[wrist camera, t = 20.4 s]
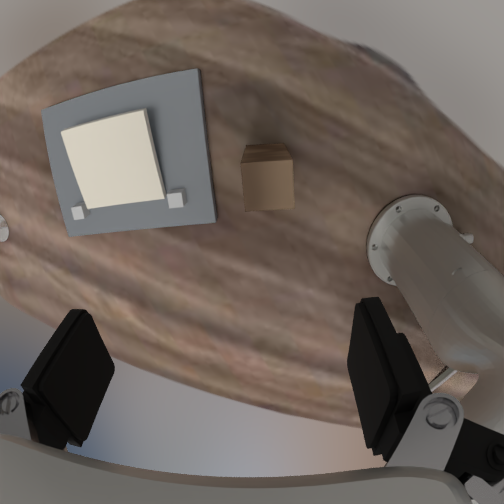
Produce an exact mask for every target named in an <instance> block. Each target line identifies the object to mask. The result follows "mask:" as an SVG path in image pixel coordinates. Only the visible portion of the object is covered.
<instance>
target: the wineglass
mask: <svg viewBox="0 0 504 504" xmlns="http://www.w3.org/2000/svg"><path fill="white" fill-rule="evenodd" d="M8 234H9V231H8V226H7V223H6V221H5V219H4V218H3V217H2V216H1V215H0V241H2V242H3V241H6V240H7V238H8Z"/></svg>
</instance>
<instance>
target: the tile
mask: <svg viewBox="0 0 504 504" xmlns="http://www.w3.org/2000/svg"><path fill="white" fill-rule="evenodd" d="M61 135H62V138H63V141H64V145H65V148H66V151H67V154H68V157H69V160H70V163H71V166H72V169H73V172H74V174H75V177H76V180H77V183H78V185H79V188H80V191H81V194H82V196H83V199H84V201H85V204H86V206H87V209H91V208H98V207H105V206H112V205H119V204H127V203H135V202H143V201H151V200H159V199H165V197H166V191H165V187H164V183H163V179H162V175H161V171H160V167H159V163H158V159H157V155H156V150H155V146H154V142H153V137H152V133H151V128H150V124H149V119H148V115H147V110H146V108H144V109H139V110H134V111H130V112H125V113H121V114H117V115H113V116H109V117H105V118H101V119H97V120H93V121H90V122H86V123H83V124H79V125H76V126H72V127H69V128H66V129H64V130H62V131H61Z"/></svg>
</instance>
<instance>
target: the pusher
mask: <svg viewBox="0 0 504 504" xmlns="http://www.w3.org/2000/svg"><path fill="white" fill-rule="evenodd" d="M241 173H242V184H243V195H244V206H245V212H249V211H265V210H282V209H295V202H294V175H293V159H292V158H291V156H290V154H289V152H288V150H287V148H286V147H285V145H284V143H277V144H260V145H246V148H245V151H244V154H243V157H242V160H241Z"/></svg>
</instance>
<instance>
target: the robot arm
mask: <svg viewBox="0 0 504 504" xmlns="http://www.w3.org/2000/svg"><path fill="white" fill-rule="evenodd" d="M397 206H398V207H397ZM396 207H397V208H396ZM473 239H474V238H473V235H472V233H463V234H461V233H460V232H458V231H457V230H456V229H455V228H454V227H453V223H452V220H451V217H450V215H449V213H448V212H447V210H446V209H445V208H444V206H443V205H442V204H440V203H439V202H438V201H436V200H435V199H433V198H431V197H429V196H425V195H409V196H404V197H402V198H399V199H397V200H395V201H394V202H392V203H391V204H389V205H388V206H387V207H386V208H385V209H384V210H383V211H381V212H380V214H379V215H378V217H377V218H376V219H375V221H374V223H373V225H372V227H371V228H370V231H369V235H368V238H367V246H366V248H367V257H368V261H369V264H370V266H371V267H372V269H373V271H374V272H375V274H376V275H377V276H378V277H379V278H380V279H381V280H382V281H384V282H386V283H387V284H390V285H394V286H397V287H398V288H399V290H400V292H401V293H402V295H403V297H404V298H405V300H406V302H407V303H408V305H409V307H410V308H411V310H412V312H413V314H414V315H415V317H416V319H417V321H418V322H419V324H420V326H421V328H422V329H423V331H424V333H425V335H426V337H427V338H428V340H429V342H430V344H431V346H432V347H433V349H434V351H435V353H436V354H437V356H438V357H439V359H440V360H441V361H442V362H443V363H444V364H445V365H447V366H448V367H450V368H452V369H454V370H456V371H460V372H465V373H474V374H479V378H478V381H477V382H476V384H475V385H474V386H473V388H472V389H471V390H470V391H469V392H468V393H467V394H466V395H465V396H464V398H463V399H462V400H461V401H460V402H459V401H458V400H457V399H456V398H455V397H453V396H451V395H449V394H445V393H434V394H432V392H431V390H430V387H429V385H428V383H427V381H426V378H425V376H424V374H423V372H422V369H421V367H420V365H419V363H418V361H417V359H416V357H415V354H414V352H413V350H412V348H411V346H410V344H409V342H408V340H407V338H406V336H405V335H404V334H403V333H396V331H395V329H394V327H393V325H392V322H391V320H390V318H389V316H388V314H387V312H386V310H385V308H384V306H383V304H382V302H381V300H380V298H379V297H371V298H362V299H361V302H360V303H356V305H355V311H354V319H353V326H352V333H351V340H350V346H349V352H348V359H347V366H348V372H349V375H350V379H351V383H352V387H353V391H354V395H355V400H356V404H357V408H358V412H359V416H360V421H361V425H362V430H363V434H364V438H365V443H366V447H367V448H368V449H369V448H372V451H373V455H374V456H375V455H380V454H382V456H383V460H384V461H386V462H387V463H386V464H385V466H384V467H380V468H369V469H361V470H352V471H344V472H336V473H326V474H316V475H304V476H286V477H255V478H254V477H253V478H252V477H249V478H248V477H213V476H199V475H187V474H177V473H168V472H161V471H153V470H147V469H140V468H135V467H129V466H124V465H119V464H114V463H109V462H105V461H101V460H96V459H92V458H88V457H84V456H81V455H77V454H73V453H70V452H68V450H67V448H66V444H67V442H68V443H69V444H71V445H74V446H78V447H81V446H82V444H83V441H85V440H86V439H87V438H88V435H89V433H90V430H91V428H92V425H93V422H94V420H95V417H96V415H97V412H98V410H99V407H100V405H101V403H102V400H103V398H104V395H105V393H106V390H107V388H108V386H109V383H110V381H111V379H112V376H113V374H114V371H115V366H114V363H113V361H112V359H111V357H110V355H109V353H108V351H107V349H106V347H105V344H104V342H103V340H102V338H101V336H100V334H99V332H98V329H97V327H96V325H95V323H94V320H93V318H92V316H91V315H90V314H89V313H88V312H87V311H86V310H84V309H72V310H70V311H69V313H68V314H67V315H66V317H65V318H64V320H63V321H62V322H61V324H60V325H59V327H58V328H57V330H56V331H55V333H54V334H53V335H52V337H51V339H50V340H49V341H48V343H47V344H46V346H45V347H44V349H43V350H42V352H41V353H40V355H39V356H38V358H37V360H36V361H35V363H34V365H33V366H32V367H31V369H30V371H29V372H28V374H27V376H26V377H25V379H24V380H23V382H22V384H21V386H22V388H23V389H24V392H23V393H22V392H21V391H19V390H18V389H16V388H11V389H7V390H5V391H4V392H2V393H1V394H0V504H504V276H503V275H502V274H501V273H500V272H499V271H498V270H497V269H496V268H495V267H494V266H493V265H492V264H491V263H490V262H489V261H488V260H486V259H485V258H484V257H483V256H482V255H481V254H480V253H479V252H478V251H477V250H476V249H475V248H473V247H472V246H471V245H470V244H471V243H473ZM373 244H374V245H373Z"/></svg>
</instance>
